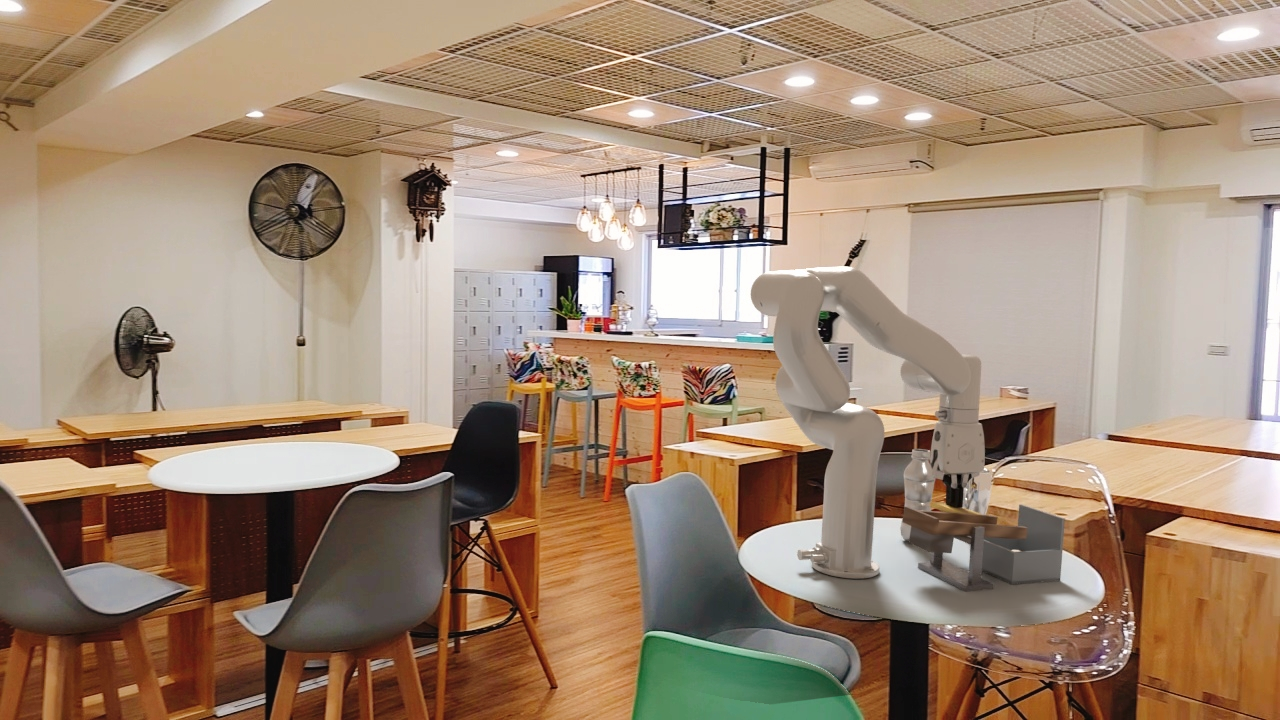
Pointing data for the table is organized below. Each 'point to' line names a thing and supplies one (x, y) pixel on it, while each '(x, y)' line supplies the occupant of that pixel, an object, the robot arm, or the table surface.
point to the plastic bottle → (917, 485)
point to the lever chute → (953, 527)
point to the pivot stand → (958, 575)
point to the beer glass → (978, 493)
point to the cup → (1027, 550)
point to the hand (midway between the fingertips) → (954, 505)
